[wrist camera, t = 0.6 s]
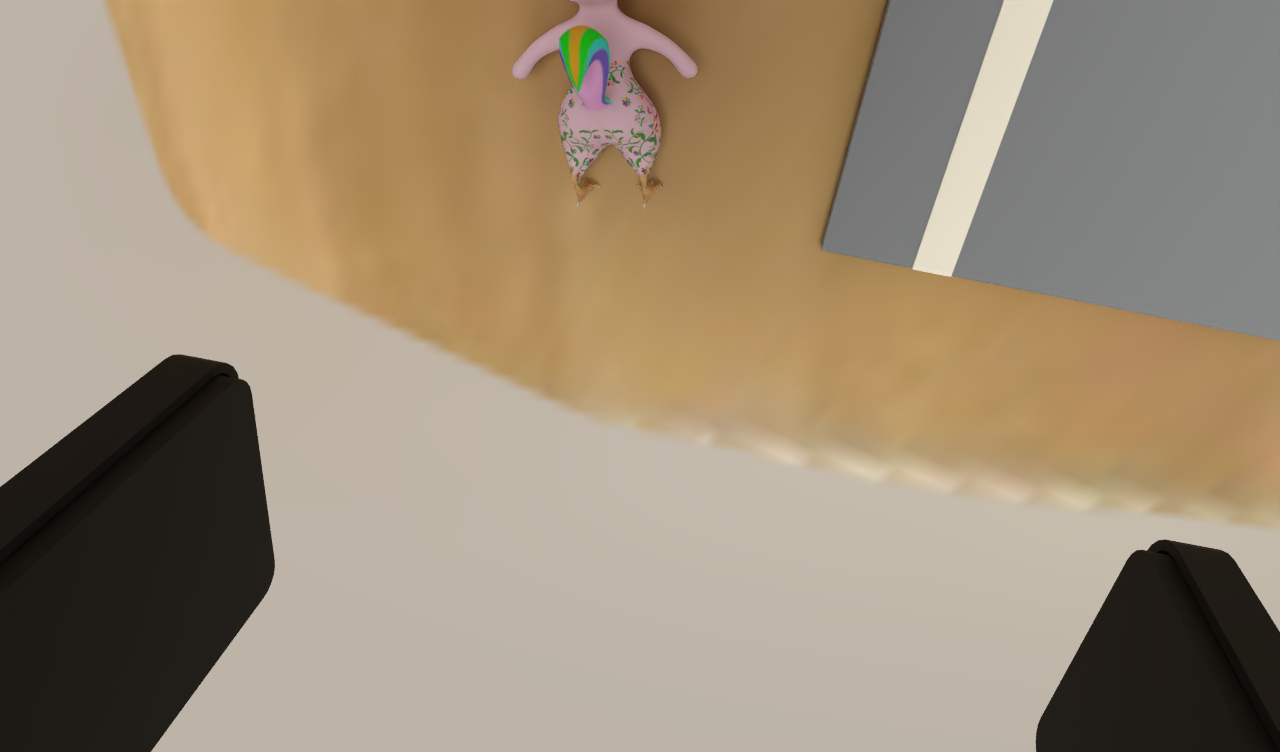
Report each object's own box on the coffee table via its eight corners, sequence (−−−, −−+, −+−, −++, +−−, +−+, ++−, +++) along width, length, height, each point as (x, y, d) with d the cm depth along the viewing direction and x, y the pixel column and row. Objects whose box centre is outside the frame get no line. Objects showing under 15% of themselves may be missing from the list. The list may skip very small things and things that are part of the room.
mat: (969, -295, 24) (973, -298, 23) (1748, -174, 22) (1774, -175, 22) (821, 243, 32) (821, 251, 32) (1378, 353, 31) (1389, 363, 30)
